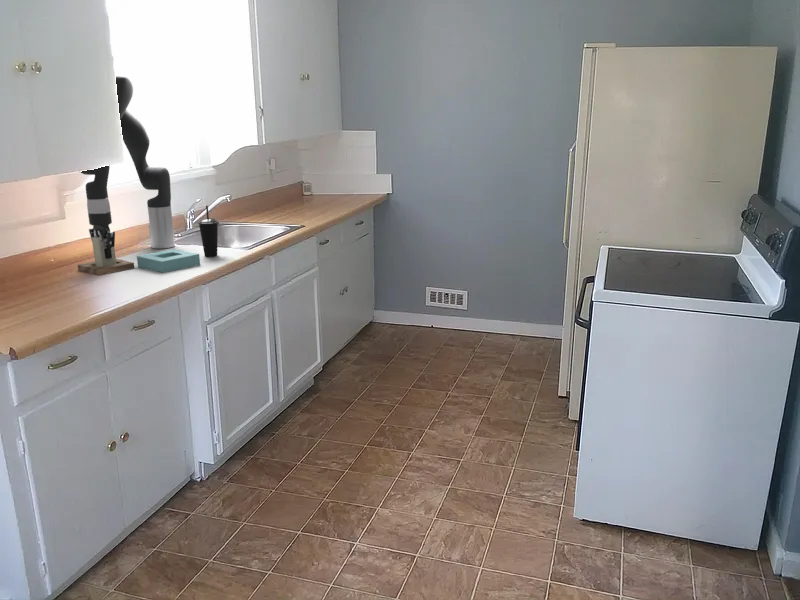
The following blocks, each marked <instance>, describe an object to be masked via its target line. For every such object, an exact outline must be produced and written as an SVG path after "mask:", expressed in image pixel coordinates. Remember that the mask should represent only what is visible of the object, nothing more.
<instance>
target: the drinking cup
mask: <svg viewBox="0 0 800 600" xmlns="http://www.w3.org/2000/svg"><path fill="white" fill-rule="evenodd" d="M205 210H206V218H204V219H201V220H200V221H198V222H197V224H198V226H199V232H200V236H201V243H202V248H203V254H204V257H205V258H215V257H218V239H219V237H218V235H219V234H218V232H219V231H218V230H219V229H218V228H219V227H218V225H219V221H218V220H215V218H214V219H213V218H210V214H209V205H205Z"/></svg>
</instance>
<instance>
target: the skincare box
mask: <svg viewBox="0 0 800 600" xmlns="http://www.w3.org/2000/svg"><path fill="white" fill-rule="evenodd" d="M103 239H104V238H103ZM104 240H107V238H106V239H104ZM91 243H92V249H93V255H94V262H95V265H96V266H97V267H103V266H108V265H113V264H117V263H116V259H117V256H116V248H115V246H114V247H112V248H111V253H112V258H110V259H106V258H105V251H104V249H105V248H104V245H103V243H102V239H101V238H100V237H92V240H91ZM111 244H112V242H111ZM106 245H107V242H106Z"/></svg>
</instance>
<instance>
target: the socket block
mask: <svg viewBox="0 0 800 600" xmlns="http://www.w3.org/2000/svg"><path fill="white" fill-rule="evenodd" d="M200 261H201V259H200V253H196V252H192V251H184V250H180V249H175V248H173V249H172V248H170V249H167V250H161V251H157V252H152V253H146V254H140V255H136V262H137V267H138V268H142V269H147V270H151V271H154V272H160V273H166V272H172V271H176V270H181V269H185V268H190V267H195V266H198V265H201V262H200Z"/></svg>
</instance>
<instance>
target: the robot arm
mask: <svg viewBox="0 0 800 600" xmlns="http://www.w3.org/2000/svg"><path fill="white" fill-rule="evenodd" d="M116 84H117V95H118V103H119V113H120V120H121V127H122V135H123V139H122V142H123V143H124V145H125V147H126V149H127V151H128V153H129V156H130V157H131V158H130V159H131V160H132V162H133V165H134V167H135V170H136V174H137V176H138V180H139V182H140V184H141V186H142V188H143V189H145V190H148V191H157V195H156V196H154V197H151V198H149V199H147V202H146V205H147V212H148V213H147V214H148V221H149V224H148V230H149V231H148V232H149V239H150V247H151V248H152V249H159V250H160V249H172V248H174V247H175V243H176V242H175V235H174V232H175V231H174V223H173V213H172V205H171V200H172V192H171V191H172V190H171V189H172V188H171V176H170V172H169V170H168V169H167V168H166V167H160V166H157V167H153V166H152V167H150V166H149V165H148V162H147V159H146V157H147V154H148V150H149V147H150V138H149V135H148V133H147V131H146V128H145V127H144V126H145V125H143V124H142V122H141V121H140V120H139V119H138V118H137V117H135V116H134V115H133V114H132V113H131V112H130V111H128V110H127V108H128V106H129V105H130V102H131V100H132V97H133V95H134V87H133V83H132V81H131V79H129V78H128V77H126V76H116ZM80 174H83V175H89V176H92V175H93V176H94V178H93V181H89V182H87V183H86V184H85V194H86V207H87V214H88V222H89V225H90V226H92V227H91V228H88V233H89V236H90V239H91V241H92V237H100V238H101V239H102V243H103V245H104V248H105V249H104V251H105V258H106V259H110V258H112V253H111V248H112V247H114V248H115V242H116V241H115V240H116V232H115V231H113V230H112V231H111V228H110V226H109V225H111V224H112V222H113V220H112V214H111V213H112V212H111V206H110V205H111V204H110V201H109V195H108V179H109V174H110V165H109V166H105V167H101V168H98V169H94V170H87V171H82V172H80ZM103 238H104V239H106V238H107V240H104V239H103ZM106 242H107V245H106ZM111 242H112V244H111Z"/></svg>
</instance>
